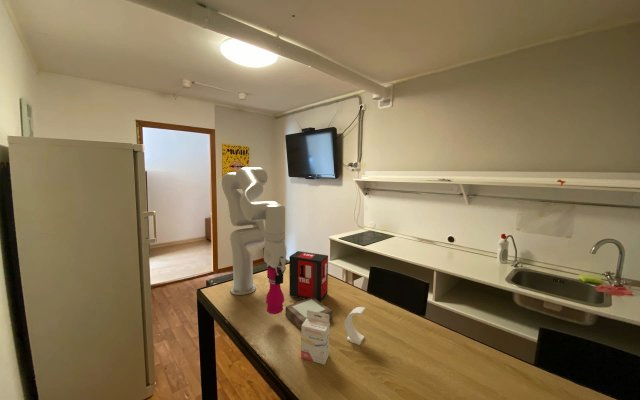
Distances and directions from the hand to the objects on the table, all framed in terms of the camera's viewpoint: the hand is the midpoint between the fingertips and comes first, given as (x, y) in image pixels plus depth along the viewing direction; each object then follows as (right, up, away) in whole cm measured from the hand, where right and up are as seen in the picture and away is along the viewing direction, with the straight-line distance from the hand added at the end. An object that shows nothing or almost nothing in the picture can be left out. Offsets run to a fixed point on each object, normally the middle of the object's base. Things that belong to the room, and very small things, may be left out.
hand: (275, 280), depth 101 cm
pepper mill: (0, -13, +2) cm, 13 cm away
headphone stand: (+30, -20, -7) cm, 37 cm away
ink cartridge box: (+16, -21, -16) cm, 31 cm away
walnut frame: (+13, -18, +6) cm, 23 cm away
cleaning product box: (+12, -16, +26) cm, 32 cm away
